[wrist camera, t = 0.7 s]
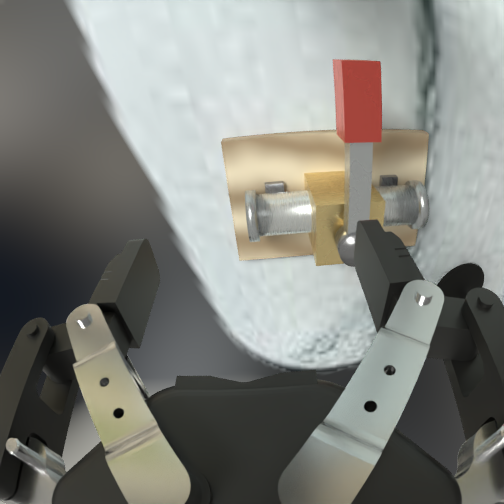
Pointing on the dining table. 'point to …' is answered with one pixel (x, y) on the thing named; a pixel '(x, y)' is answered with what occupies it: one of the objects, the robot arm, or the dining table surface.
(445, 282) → the wine glass
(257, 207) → the valve
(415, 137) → the mounting board
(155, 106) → the dining table surface
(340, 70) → the lever
